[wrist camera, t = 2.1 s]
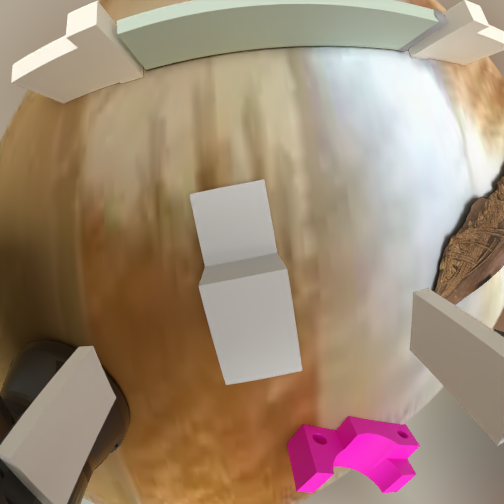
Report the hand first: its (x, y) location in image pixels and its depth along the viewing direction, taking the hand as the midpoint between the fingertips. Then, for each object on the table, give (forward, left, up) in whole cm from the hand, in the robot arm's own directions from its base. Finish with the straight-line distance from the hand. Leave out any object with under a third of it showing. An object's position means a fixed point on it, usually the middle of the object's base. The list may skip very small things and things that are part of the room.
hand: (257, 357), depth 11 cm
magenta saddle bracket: (+9, -24, -15) cm, 30 cm away
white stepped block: (0, 0, -14) cm, 14 cm away
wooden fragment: (+24, +2, -16) cm, 29 cm away
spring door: (+18, +18, -14) cm, 29 cm away
